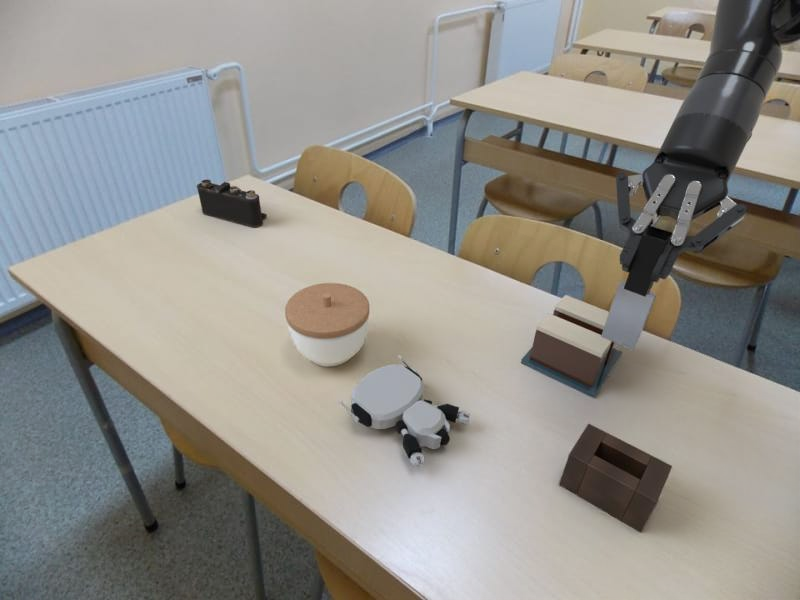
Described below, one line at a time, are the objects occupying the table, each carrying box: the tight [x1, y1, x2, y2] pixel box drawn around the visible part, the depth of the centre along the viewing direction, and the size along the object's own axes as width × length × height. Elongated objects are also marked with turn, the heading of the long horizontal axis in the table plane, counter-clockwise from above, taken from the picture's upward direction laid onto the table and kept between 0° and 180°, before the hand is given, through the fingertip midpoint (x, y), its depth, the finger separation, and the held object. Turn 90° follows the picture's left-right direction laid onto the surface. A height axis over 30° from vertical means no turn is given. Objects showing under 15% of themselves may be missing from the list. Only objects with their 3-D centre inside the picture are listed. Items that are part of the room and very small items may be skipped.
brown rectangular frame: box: [558, 423, 673, 533], centre depth 62 cm, size 10×6×6 cm, turn 52°
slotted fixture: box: [520, 294, 624, 399], centre depth 80 cm, size 12×12×8 cm
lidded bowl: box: [284, 282, 371, 368], centre depth 80 cm, size 13×13×11 cm
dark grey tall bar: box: [601, 226, 673, 351], centre depth 58 cm, size 4×2×15 cm, turn 52°
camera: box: [196, 179, 267, 229], centre depth 118 cm, size 16×7×8 cm, turn 65°
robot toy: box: [336, 354, 471, 467], centre depth 70 cm, size 12×4×15 cm
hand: (640, 274), depth 55 cm, fingers closed on dark grey tall bar, 2 cm apart
